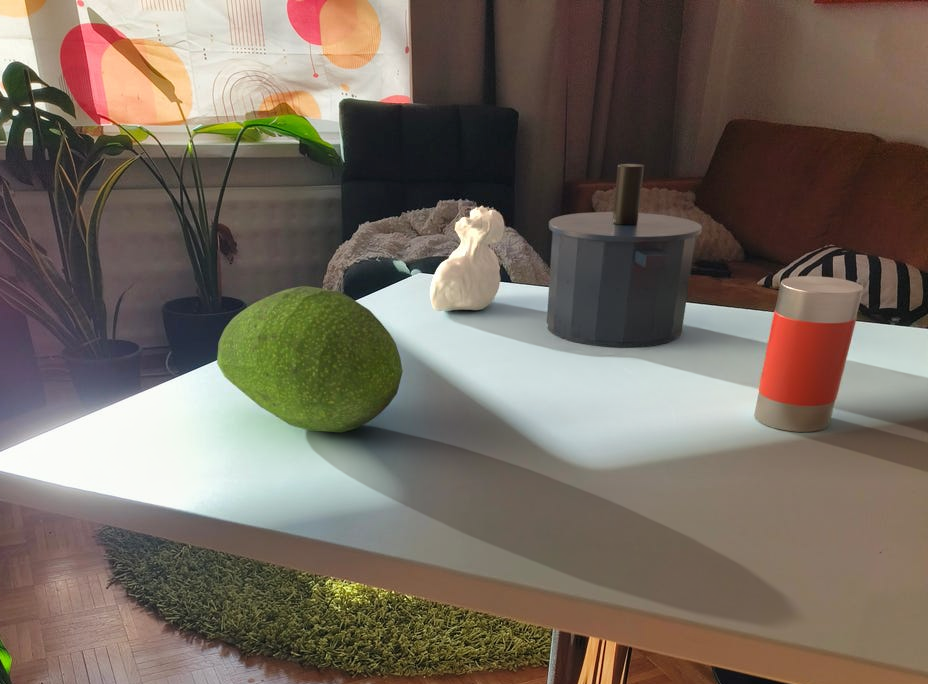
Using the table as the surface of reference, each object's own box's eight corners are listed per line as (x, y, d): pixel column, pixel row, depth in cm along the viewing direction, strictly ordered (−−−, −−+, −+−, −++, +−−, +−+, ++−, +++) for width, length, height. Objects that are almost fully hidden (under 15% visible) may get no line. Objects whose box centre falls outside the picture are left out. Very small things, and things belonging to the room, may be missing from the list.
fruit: (194, 420, 69) (172, 283, 63) (287, 387, 75) (275, 261, 70) (339, 466, 61) (329, 316, 55) (428, 426, 68) (427, 287, 62)
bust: (445, 341, 95) (507, 258, 88) (395, 289, 95) (453, 201, 88) (491, 316, 104) (552, 239, 97) (446, 269, 104) (503, 188, 97)
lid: (666, 222, 94) (675, 156, 90) (725, 247, 82) (738, 173, 78) (532, 225, 92) (535, 158, 88) (572, 251, 80) (578, 175, 76)
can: (806, 405, 72) (837, 274, 67) (844, 430, 67) (880, 291, 62) (740, 409, 71) (766, 277, 66) (774, 434, 67) (804, 294, 61)
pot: (644, 304, 100) (655, 212, 95) (714, 351, 85) (732, 245, 80) (526, 309, 98) (531, 215, 93) (576, 358, 83) (585, 249, 78)
